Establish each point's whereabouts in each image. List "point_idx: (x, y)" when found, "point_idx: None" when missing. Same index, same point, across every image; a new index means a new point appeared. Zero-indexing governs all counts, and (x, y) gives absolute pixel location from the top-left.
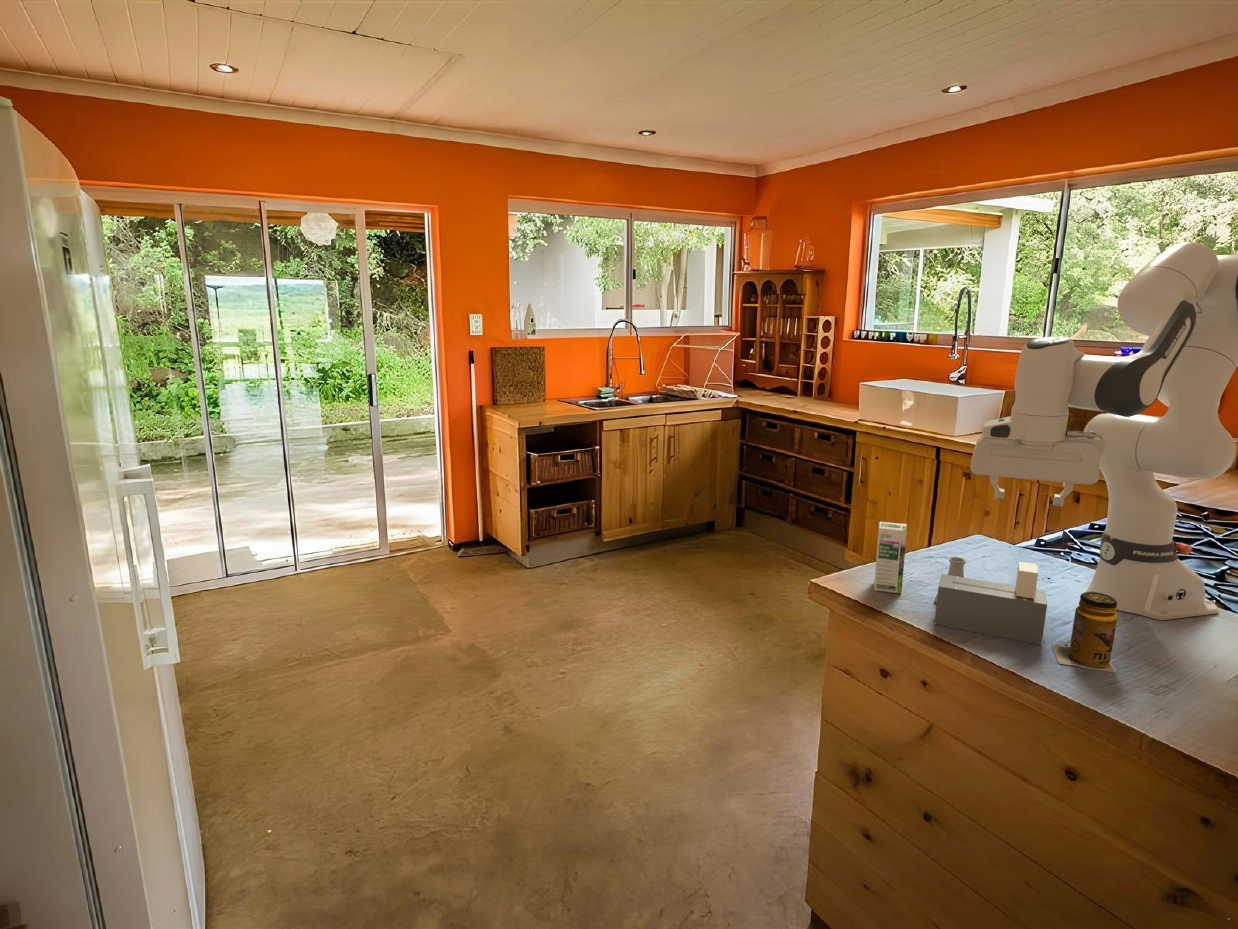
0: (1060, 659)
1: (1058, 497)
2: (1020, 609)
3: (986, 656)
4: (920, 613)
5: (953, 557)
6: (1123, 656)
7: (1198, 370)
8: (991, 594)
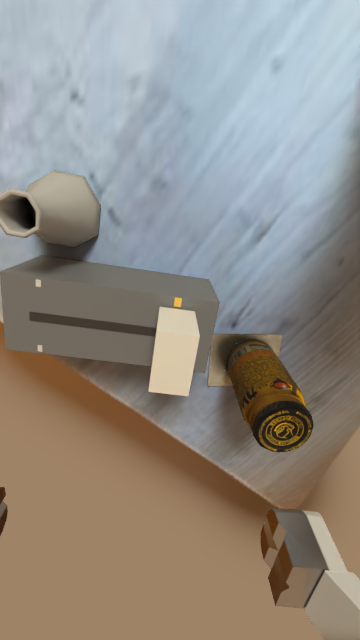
0: (212, 374)
1: (292, 602)
2: None
3: (118, 393)
4: None
5: (4, 197)
6: (304, 335)
7: None
8: (108, 358)
